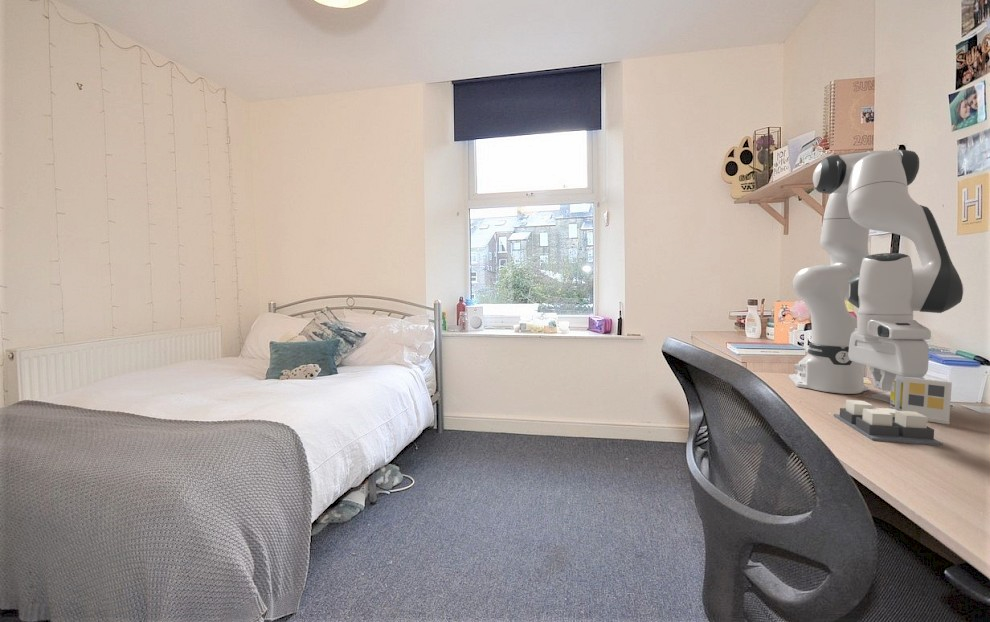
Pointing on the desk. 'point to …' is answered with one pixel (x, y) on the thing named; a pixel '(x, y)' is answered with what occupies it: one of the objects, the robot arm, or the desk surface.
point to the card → (927, 398)
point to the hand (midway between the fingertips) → (882, 389)
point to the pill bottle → (898, 392)
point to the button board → (888, 430)
